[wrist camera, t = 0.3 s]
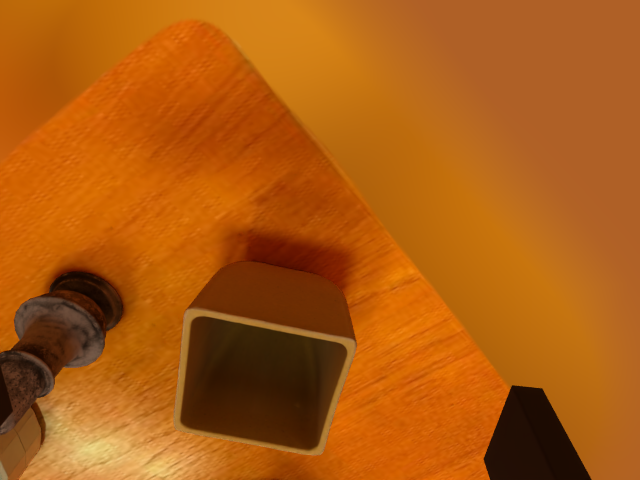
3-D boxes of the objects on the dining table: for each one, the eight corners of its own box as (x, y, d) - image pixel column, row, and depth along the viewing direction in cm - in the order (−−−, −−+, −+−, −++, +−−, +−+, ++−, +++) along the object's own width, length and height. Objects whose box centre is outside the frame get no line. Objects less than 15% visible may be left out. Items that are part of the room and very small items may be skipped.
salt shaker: (108, 262, 31) (-12, 392, 21) (138, 330, 34) (45, 476, 23) (31, 274, 32) (-124, 405, 21) (66, 339, 35) (-56, 485, 24)
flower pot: (225, 227, 30) (183, 307, 22) (354, 254, 30) (359, 342, 22) (211, 331, 34) (171, 431, 26) (326, 354, 34) (321, 458, 26)
